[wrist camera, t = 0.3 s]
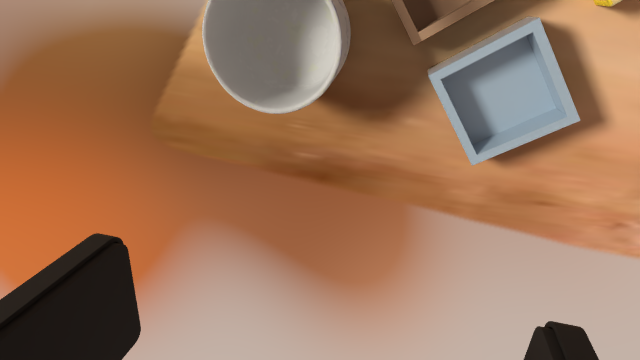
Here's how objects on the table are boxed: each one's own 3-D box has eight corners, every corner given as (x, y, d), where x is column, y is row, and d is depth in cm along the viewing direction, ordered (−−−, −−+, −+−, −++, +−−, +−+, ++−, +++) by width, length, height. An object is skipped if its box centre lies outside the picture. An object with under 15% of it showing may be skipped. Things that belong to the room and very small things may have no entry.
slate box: (527, 16, 32) (539, 17, 29) (565, 109, 34) (580, 120, 31) (427, 69, 35) (428, 75, 32) (467, 151, 37) (472, 165, 34)
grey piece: (381, 47, 35) (372, 58, 28) (289, 116, 40) (260, 141, 33) (283, -99, 33) (245, -127, 26) (196, -8, 37) (142, -10, 30)
